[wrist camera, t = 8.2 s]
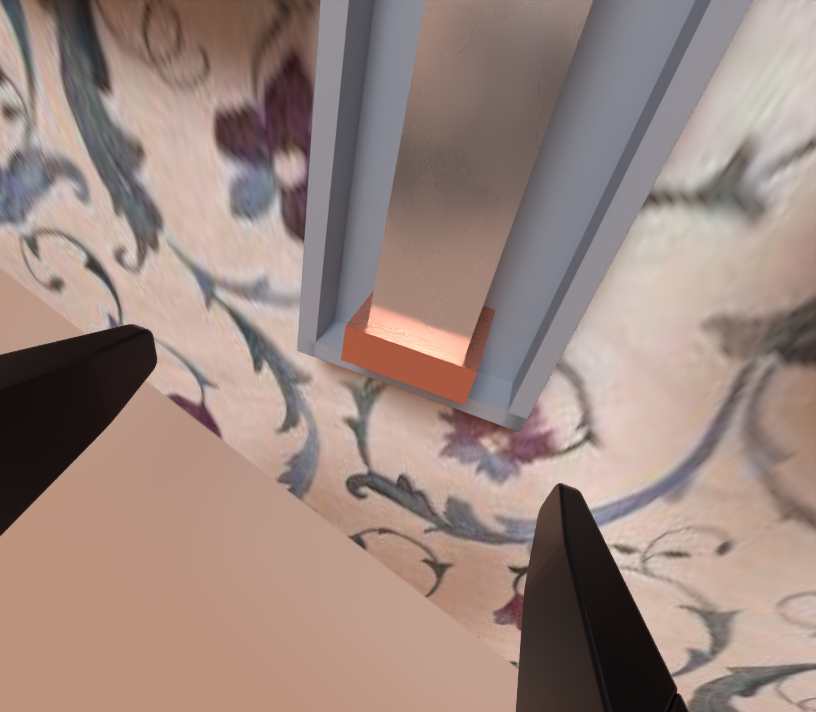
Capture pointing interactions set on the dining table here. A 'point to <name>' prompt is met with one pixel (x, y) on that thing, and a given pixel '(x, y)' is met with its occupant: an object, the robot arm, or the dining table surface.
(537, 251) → the tray
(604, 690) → the robot arm
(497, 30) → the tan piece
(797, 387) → the dining table surface
